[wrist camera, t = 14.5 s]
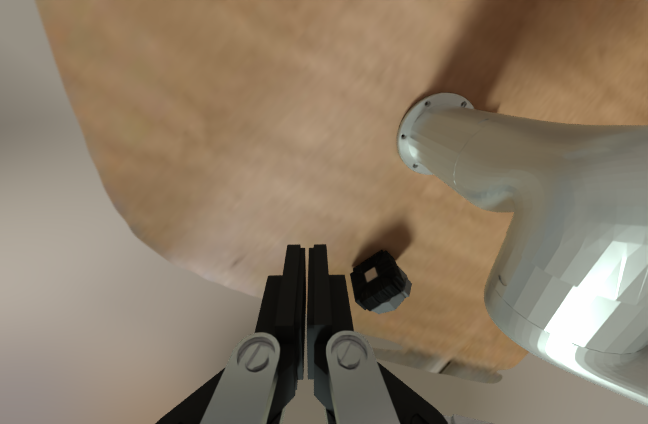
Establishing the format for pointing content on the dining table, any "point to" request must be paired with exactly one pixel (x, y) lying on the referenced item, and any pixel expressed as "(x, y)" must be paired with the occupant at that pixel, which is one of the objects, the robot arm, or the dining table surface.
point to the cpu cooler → (380, 283)
